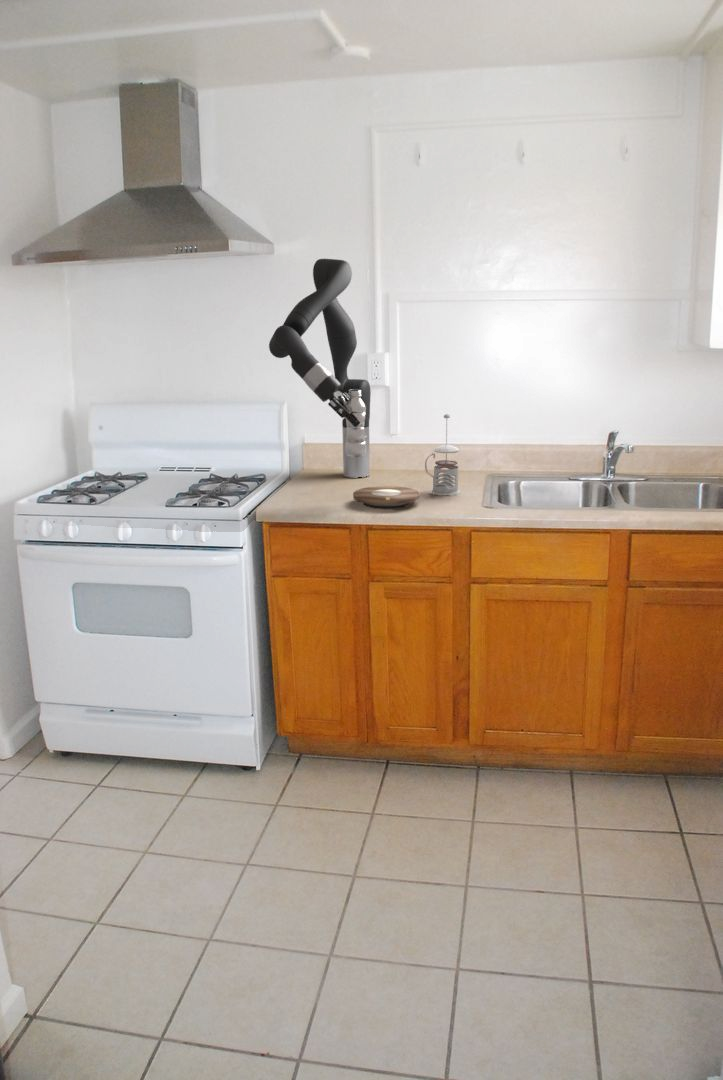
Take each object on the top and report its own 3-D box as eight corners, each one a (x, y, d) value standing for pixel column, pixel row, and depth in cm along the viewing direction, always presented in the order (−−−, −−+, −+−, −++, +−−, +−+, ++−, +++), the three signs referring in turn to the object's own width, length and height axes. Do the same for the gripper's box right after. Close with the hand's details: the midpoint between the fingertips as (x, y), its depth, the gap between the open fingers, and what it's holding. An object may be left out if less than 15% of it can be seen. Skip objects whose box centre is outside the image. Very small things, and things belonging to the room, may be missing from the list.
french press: (459, 496, 278) (461, 416, 271) (422, 494, 280) (423, 415, 273) (462, 489, 287) (464, 412, 280) (426, 488, 289) (427, 411, 282)
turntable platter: (352, 490, 278) (352, 486, 278) (416, 489, 279) (416, 484, 279) (354, 505, 259) (353, 500, 259) (422, 504, 260) (422, 499, 259)
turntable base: (362, 498, 276) (362, 492, 276) (407, 497, 277) (407, 492, 276) (363, 509, 263) (363, 503, 262) (411, 508, 263) (411, 502, 263)
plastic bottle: (362, 454, 271) (361, 388, 265) (369, 458, 265) (369, 390, 259) (342, 455, 269) (340, 389, 263) (349, 459, 262) (348, 392, 257)
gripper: (323, 376, 254) (363, 418, 255) (336, 370, 268) (375, 410, 268) (306, 394, 257) (346, 436, 258) (320, 388, 271) (358, 427, 271)
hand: (360, 422), depth 263 cm, fingers closed on plastic bottle, 6 cm apart
